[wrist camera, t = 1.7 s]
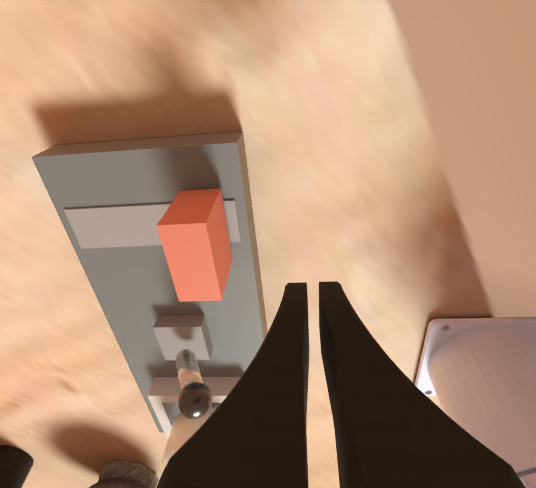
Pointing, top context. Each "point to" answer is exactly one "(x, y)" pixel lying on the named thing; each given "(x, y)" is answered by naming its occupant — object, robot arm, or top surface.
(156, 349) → the panel
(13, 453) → the drinking cup
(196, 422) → the push button
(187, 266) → the slide paddle
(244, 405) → the robot arm
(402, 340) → the top surface
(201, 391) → the toggle lever
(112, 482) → the mortar and pestle
